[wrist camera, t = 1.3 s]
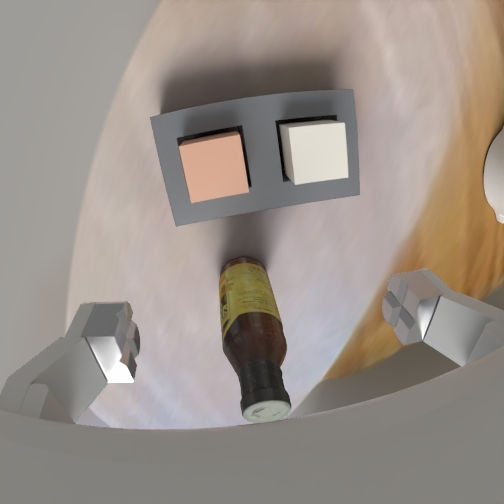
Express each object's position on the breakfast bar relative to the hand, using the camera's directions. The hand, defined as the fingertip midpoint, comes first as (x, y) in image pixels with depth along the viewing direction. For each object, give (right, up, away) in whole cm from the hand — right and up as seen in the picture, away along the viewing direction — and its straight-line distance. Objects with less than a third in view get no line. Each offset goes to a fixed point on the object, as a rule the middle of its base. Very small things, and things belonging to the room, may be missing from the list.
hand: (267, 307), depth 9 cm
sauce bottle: (-2, -2, +30) cm, 30 cm away
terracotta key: (-4, +10, +19) cm, 22 cm away
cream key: (+5, +12, +19) cm, 23 cm away
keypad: (0, +13, +22) cm, 26 cm away
